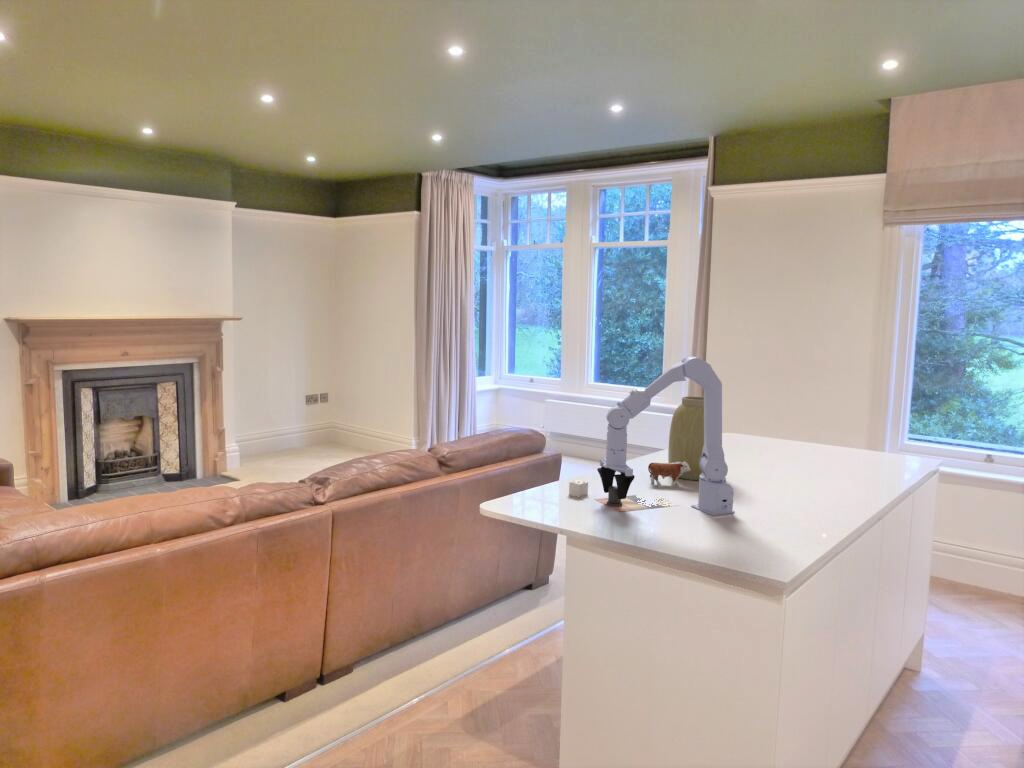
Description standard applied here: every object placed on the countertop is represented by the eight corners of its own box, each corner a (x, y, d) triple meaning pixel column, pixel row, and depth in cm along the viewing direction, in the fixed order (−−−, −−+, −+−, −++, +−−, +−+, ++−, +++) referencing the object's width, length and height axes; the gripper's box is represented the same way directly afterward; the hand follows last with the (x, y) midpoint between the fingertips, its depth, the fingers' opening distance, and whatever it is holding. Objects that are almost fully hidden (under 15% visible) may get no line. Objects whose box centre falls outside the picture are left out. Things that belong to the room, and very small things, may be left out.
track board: (679, 506, 204) (679, 505, 203) (620, 512, 195) (620, 511, 195) (650, 494, 216) (650, 493, 216) (594, 500, 208) (594, 499, 208)
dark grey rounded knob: (625, 505, 202) (625, 488, 201) (611, 507, 200) (612, 490, 199) (616, 502, 206) (617, 485, 205) (603, 503, 204) (604, 486, 203)
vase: (702, 469, 253) (706, 394, 250) (728, 480, 236) (733, 401, 234) (658, 471, 248) (661, 395, 246) (682, 483, 232) (686, 401, 229)
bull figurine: (690, 488, 225) (691, 463, 224) (647, 485, 228) (648, 460, 227) (689, 485, 229) (690, 460, 229) (647, 482, 232) (648, 457, 231)
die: (587, 495, 214) (588, 482, 213) (579, 497, 211) (579, 484, 211) (577, 492, 217) (577, 479, 216) (569, 494, 214) (569, 481, 213)
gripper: (591, 445, 206) (589, 490, 207) (618, 454, 193) (616, 503, 194) (612, 443, 209) (610, 488, 210) (639, 453, 196) (638, 500, 197)
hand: (614, 495), depth 202 cm, fingers open, 7 cm apart
